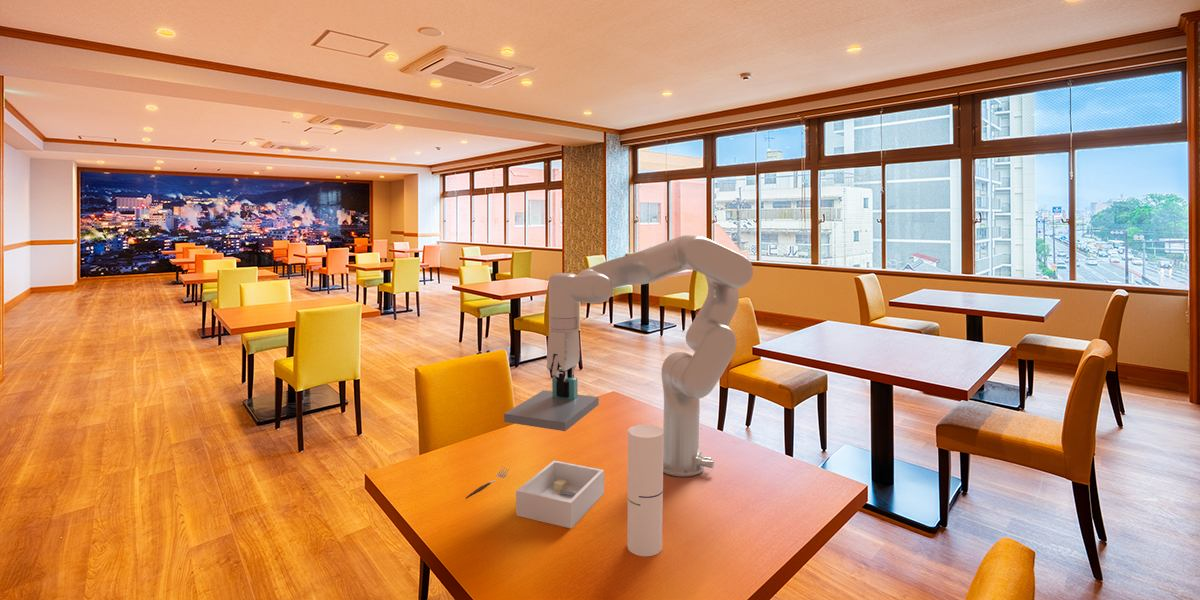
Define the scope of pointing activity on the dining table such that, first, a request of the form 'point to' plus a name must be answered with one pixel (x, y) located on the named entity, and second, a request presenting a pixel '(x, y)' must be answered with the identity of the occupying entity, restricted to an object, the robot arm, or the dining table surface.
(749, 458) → the dining table surface
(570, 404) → the lid
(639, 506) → the cylindrical container
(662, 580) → the dining table surface
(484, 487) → the fork
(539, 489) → the tub
